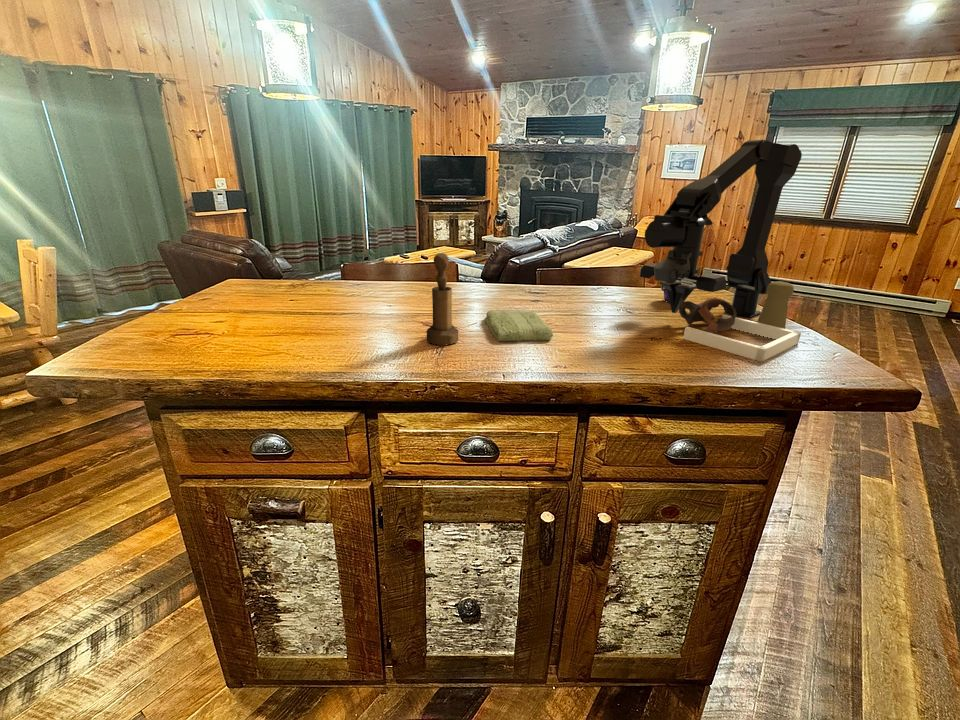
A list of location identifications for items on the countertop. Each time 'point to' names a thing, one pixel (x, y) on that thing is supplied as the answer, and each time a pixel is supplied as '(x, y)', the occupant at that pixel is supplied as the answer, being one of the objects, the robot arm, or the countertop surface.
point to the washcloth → (518, 326)
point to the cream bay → (759, 353)
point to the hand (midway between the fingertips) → (674, 312)
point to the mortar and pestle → (442, 307)
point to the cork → (776, 304)
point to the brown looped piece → (708, 314)
